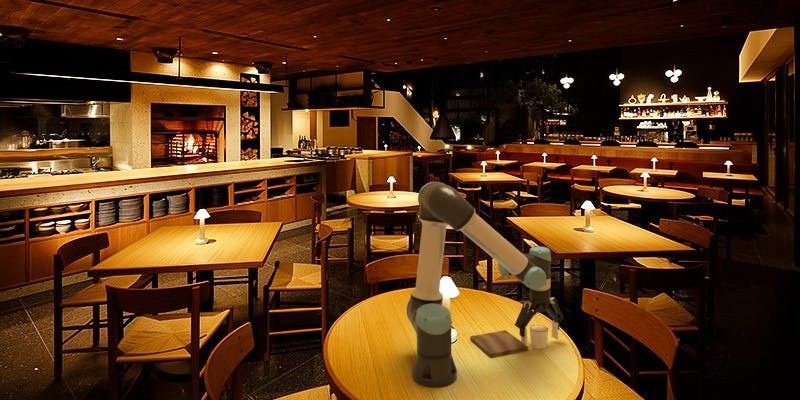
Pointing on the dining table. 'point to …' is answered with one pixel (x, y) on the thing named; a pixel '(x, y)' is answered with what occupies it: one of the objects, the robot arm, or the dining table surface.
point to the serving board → (498, 343)
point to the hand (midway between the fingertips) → (539, 341)
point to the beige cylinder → (538, 336)
